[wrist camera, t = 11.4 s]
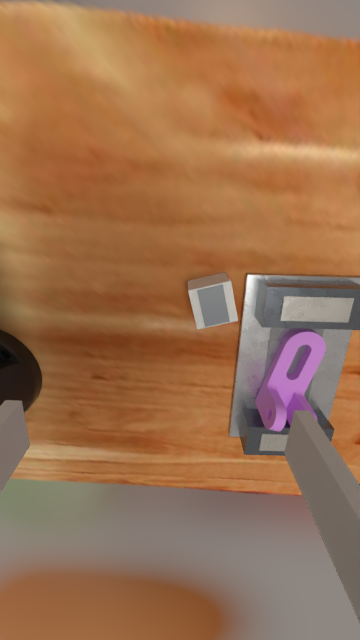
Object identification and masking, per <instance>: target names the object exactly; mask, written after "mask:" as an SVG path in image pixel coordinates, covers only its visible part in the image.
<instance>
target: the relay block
mask: <svg viewBox="0 0 360 640" xmlns="http://www.w3.org/2000/svg"><path fill="white" fill-rule="evenodd" d="M187 282H188V292H189V297H190V301H191V305H192V309H193V314H194V318H195V322H196V326H197V330H198V329H202V328H207V327H212V326H216V325H221V324H225V323H230V322H235V321H238V317H237V312H236V306H235V301H234V295H233V289H232V284H231V280H230V279H229V277H228V276H227V274H226V273H225V272H224V273H219V274H215V275H211V276H207V277H202V278H198V279H194V280H189V281H187Z"/></svg>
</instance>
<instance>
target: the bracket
mask: <svg viewBox="0 0 360 640" xmlns="http://www.w3.org/2000/svg"><path fill="white" fill-rule="evenodd" d="M302 345H307V348H306V350H305V352H304V354H303V356H302V358H301V360H300V363H299V365H298V367H297V369H296V371H295V372H294V373H293V374H290V375H287V374H286V373H287V371H288V369H289V367H290V365H291V363H292V361H293V359H294V356H295V354H296V352H297V350H298V348H299V347H300V346H302ZM325 350H326V345H325V342H324V340H323V338H322V337H321V336H320V335H319V334H318V333H316V332H315V331H314V330H312V329H301V328H297V329H294V330H292V331H290V332H289V333H288V334H286V335H285V337H284V338H283V339H282V341H281V344H280V346H279V348H278V350H277V353H276V355H275V357H274V359H273V361H272V364H271V366H270V368H269V370H268V373H267V375H266V377H265V379H264V382H263V384H262V386H261V388H260V391H259V393H258V395H257V397H256V400H255V403H256V406H257V408H258V411H259V413H260V416H261V419H262V421H263V424H264V426H265V428H266V429H269V430H274V431H281V430H282V429H283V428H284V426H285V423H286V418H287V420H288V422H289V424H290V426H291V422H292V418H293V414H294V410H301V411H310V412H311V413H312V415H313V416H314V418H315V419H316V421H317V416H316V413H315V412H314V410H313V409H312V407H311V406H310V404H309V403H308V401H307V400H306V398H305V396H304V394H305V391H306V389H307V387H308V385H309V383H310V381H311V379H312V377H313V376H314V374H315V372H316V370H317V368H318V366H319V364H320V362H321V360H322V358H323V356H324V354H325ZM317 422H318V421H317Z"/></svg>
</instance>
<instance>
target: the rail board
mask: <svg viewBox="0 0 360 640" xmlns="http://www.w3.org/2000/svg"><path fill="white" fill-rule="evenodd" d="M297 328H301V329H312V330H314V331H315V332H316V333H318V334H319V335H320V336H321V337H322V338H323V340H324V342H325V345H326V350H325V354H324V356H323V358H322V360H321V362H320V364H319V366H318V368H317V370H316V372H315V374H314V376H313V377H312V379H311V381H310V383H309V385H308V387H307V389H306V391H305V394H304V396H305V398H306V400H307V401H308V403H309V404H310V406H311V407H312V409H313V410H314V412H315V413H316V416H317V421H318V424H319V425H320V427H321V428H322V430H323V431H324V433H325V434H326V436H327V437H328V439H329V440H330V442H331V439H332V436H333V432H334V428H333V427H332V425H331V424H330V423H329V421H328V420H329V416H330V412H331V409H332V405H333V401H334V397H335V394H336V390H337V386H338V382H339V378H340V375H341V371H342V367H343V363H344V359H345V356H346V352H347V348H348V344H349V341H350V337H351V333H352V330H360V276H326V275H289V274H252V273H246V277H245V286H244V296H243V305H242V314H241V323H240V332H239V341H238V350H237V359H236V368H235V378H234V387H233V396H232V405H231V414H230V423H229V436H231V437H240V439H241V443H242V447H243V451H244V454H246V455H283V456H285V454H284V451H285V447H286V443H287V439H288V435H289V431H290V424H289V422H288V420H287V418H286V423H285V426H284V428H283V429H282V430H281V431H274V430H269V429H266V428H265V426H264V424H263V421H262V419H261V416H260V413H259V411H258V408H257V406H256V403H255V400H256V397H257V395H258V393H259V391H260V388H261V386H262V384H263V382H264V379H265V377H266V375H267V373H268V370H269V368H270V366H271V364H272V361H273V359H274V357H275V355H276V353H277V350H278V348H279V346H280V344H281V341H282V339H283V338H284V337H285V335H286V334H288V333H289V332H290V331H292V330H294V329H297ZM306 348H307V345H302V346H300V347H299V348H298V350H297V352H296V354H295V356H294V359H293V361H292V363H291V365H290V367H289V369H288V371H287V373H286V374H287V375H290V374H293V373H294V372H295V371H296V369H297V367H298V365H299V363H300V360H301V358H302V356H303V354H304V352H305V350H306Z"/></svg>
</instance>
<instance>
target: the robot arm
mask: <svg viewBox="0 0 360 640" xmlns="http://www.w3.org/2000/svg"><path fill="white" fill-rule="evenodd" d="M41 382H42V380H41V372H40V369H39V366H38V364H37V362H36V360H35V358H34V357H33V355H32V354H31V352H30V351H29V350H28V349H27V348H26V347H25V346H24V345H23V344H22V343H21V342H19V341H18V340H17V339H15V338H14V337H12V336H10V335H9V334H7V333H4V332H2V331H0V492H1V491H2V489H3V488H4V486H5V484H6V483H7V481H8V480H9V478H10V476H11V475H12V473H13V472H14V470H15V469H16V467H17V465H18V464H19V462H20V461H21V459H22V457H23V456H24V454H25V453H26V451H27V449H28V448H29V446H30V443H29V438H28V432H27V427H26V421H25V415H24V413H25V412H26V411H27V410H28V409H29V407H30V406H31V405H32V404H33V402H34V401H35V400H36V398H37V397H38V395H39V392H40V389H41ZM284 454H285V457H286V459H287V461H288V463H289V466H290V468H291V470H292V472H293V475H294V477H295V479H296V481H297V483H298V486H299V488H300V490H301V492H302V495H303V497H304V499H305V501H306V504H307V506H308V508H309V510H310V512H311V515H312V517H313V519H314V521H315V524H316V526H317V528H318V530H319V533H320V535H321V537H322V539H323V542H324V544H325V546H326V548H327V550H328V553H329V555H330V557H331V559H332V562H333V564H334V566H335V568H336V571H337V573H338V575H339V577H340V580H341V582H342V584H343V586H344V589H345V591H346V593H347V595H348V597H349V600H350V602H351V604H352V607H353V609H354V611H355V613H356V615H357V618H358V620H359V622H360V484H359V483H358V482H357V480H356V479H355V477H354V476H353V474H352V473H351V471H350V470H349V468H348V467H347V465H346V464H345V462H344V461H343V459H342V458H341V456H340V455H339V453H338V452H337V450H336V449H335V447H334V446H333V445H332V443H331V442H330V440H329V439H328V437H327V436H326V434H325V433H324V431H323V430H322V428H321V427H320V425H319V424H318V422H317V421H316V419H315V418H314V416H313V415H312V413H311V412H310V411H301V410H294V414H293V418H292V422H291V426H290V431H289V435H288V439H287V443H286V447H285V451H284Z"/></svg>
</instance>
